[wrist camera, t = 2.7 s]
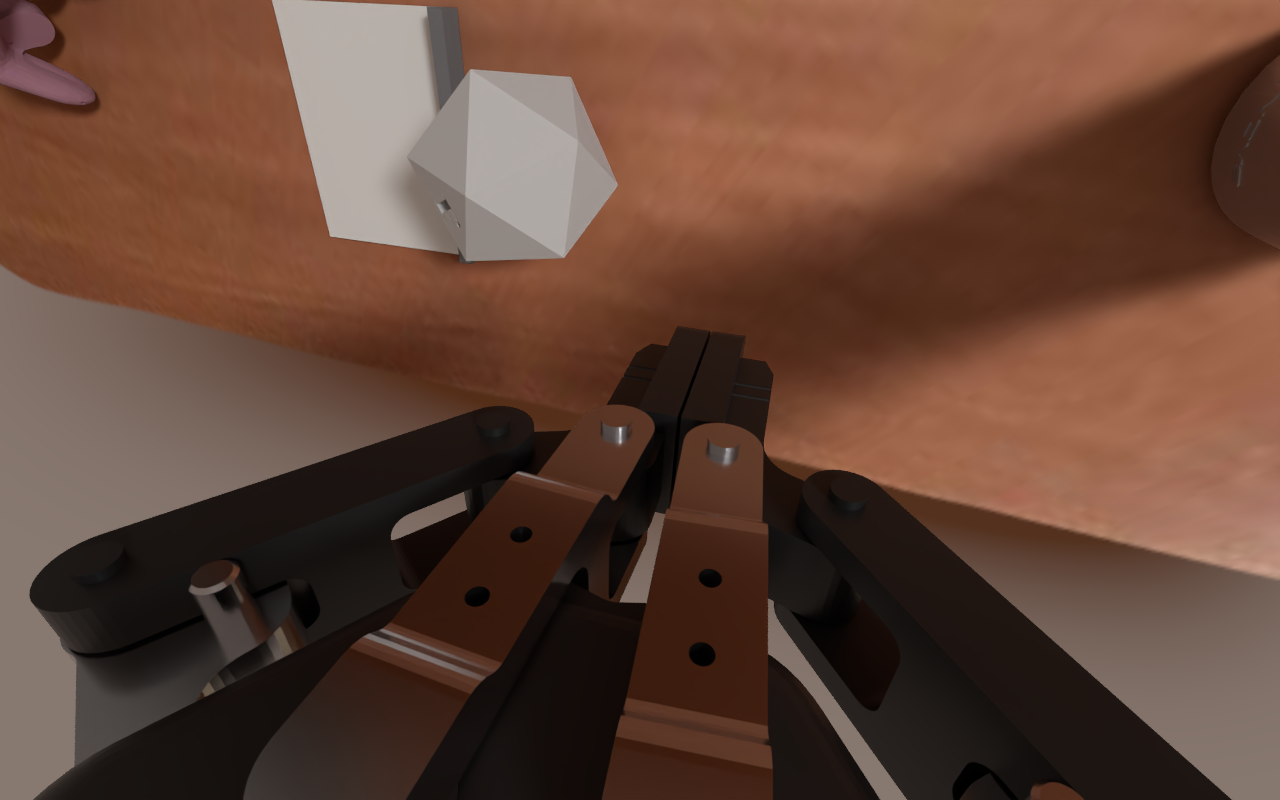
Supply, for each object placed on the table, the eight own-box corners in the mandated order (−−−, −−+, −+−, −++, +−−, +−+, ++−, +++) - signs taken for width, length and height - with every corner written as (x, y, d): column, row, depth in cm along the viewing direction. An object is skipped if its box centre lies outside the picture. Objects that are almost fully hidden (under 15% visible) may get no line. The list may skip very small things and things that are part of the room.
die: (454, 110, 33) (332, 138, 25) (590, 30, 29) (497, 33, 21) (528, 251, 36) (441, 317, 28) (658, 196, 33) (601, 255, 24)
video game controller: (72, -91, 33) (-116, -147, 28) (120, -33, 33) (-61, -77, 27) (61, 63, 39) (-99, 45, 33) (101, 114, 39) (-53, 104, 33)
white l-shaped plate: (456, 7, 30) (441, 7, 29) (483, 255, 37) (471, 263, 36) (275, -1, 32) (254, -3, 31) (333, 235, 39) (317, 242, 38)
